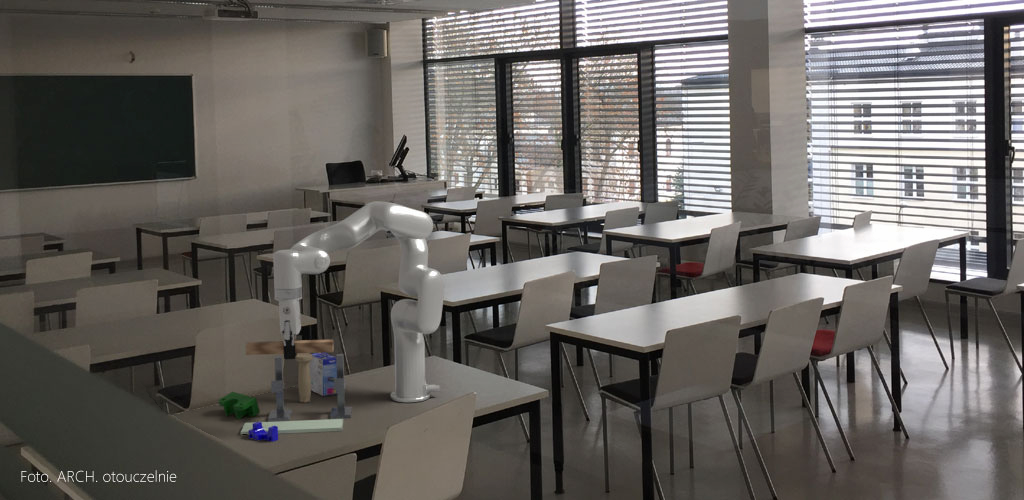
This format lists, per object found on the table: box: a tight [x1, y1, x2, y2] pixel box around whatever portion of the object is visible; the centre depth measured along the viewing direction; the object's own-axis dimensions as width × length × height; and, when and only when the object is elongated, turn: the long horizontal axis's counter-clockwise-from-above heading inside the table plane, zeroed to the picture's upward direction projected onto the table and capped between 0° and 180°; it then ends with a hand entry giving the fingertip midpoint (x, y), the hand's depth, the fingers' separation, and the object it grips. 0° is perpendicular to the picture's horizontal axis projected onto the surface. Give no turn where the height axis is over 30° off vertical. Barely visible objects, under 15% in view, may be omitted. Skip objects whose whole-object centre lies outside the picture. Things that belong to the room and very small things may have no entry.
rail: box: [245, 339, 335, 356], centre depth 268 cm, size 24×3×3 cm, turn 97°
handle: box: [294, 353, 313, 403], centre depth 296 cm, size 5×6×15 cm
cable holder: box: [248, 421, 279, 443], centre depth 262 cm, size 8×4×4 cm, turn 56°
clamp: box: [218, 391, 261, 420], centre depth 283 cm, size 12×6×9 cm, turn 47°
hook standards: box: [267, 353, 353, 422], centre depth 281 cm, size 24×9×18 cm, turn 97°
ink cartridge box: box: [309, 352, 337, 397], centre depth 307 cm, size 10×6×14 cm, turn 38°
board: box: [240, 418, 344, 435], centre depth 271 cm, size 28×8×1 cm, turn 97°
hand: (290, 356), depth 268 cm, fingers closed on rail, 3 cm apart
